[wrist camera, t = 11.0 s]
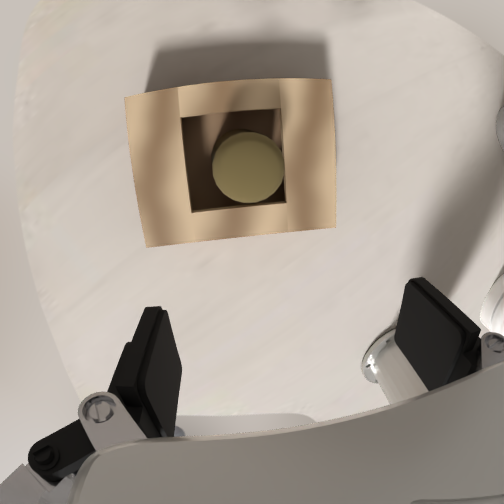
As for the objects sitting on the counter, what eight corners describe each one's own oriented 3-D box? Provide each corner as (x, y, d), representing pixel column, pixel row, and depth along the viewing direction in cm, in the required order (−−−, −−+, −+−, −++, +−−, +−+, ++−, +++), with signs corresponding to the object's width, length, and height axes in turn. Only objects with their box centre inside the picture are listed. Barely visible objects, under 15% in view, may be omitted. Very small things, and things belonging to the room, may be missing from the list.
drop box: (311, 88, 27) (331, 79, 22) (317, 210, 33) (335, 227, 27) (142, 103, 26) (124, 97, 21) (158, 227, 32) (146, 247, 26)
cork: (200, 146, 28) (188, 153, 18) (252, 118, 28) (270, 110, 17) (229, 196, 31) (232, 229, 20) (279, 168, 30) (309, 188, 20)
